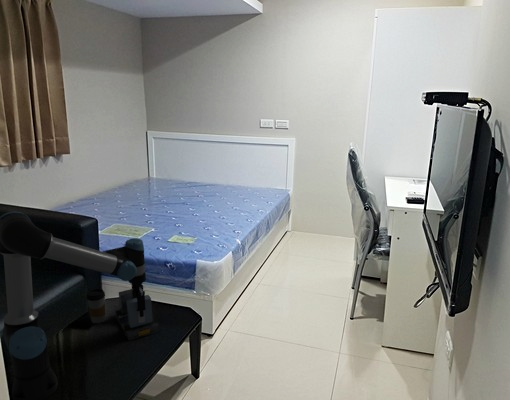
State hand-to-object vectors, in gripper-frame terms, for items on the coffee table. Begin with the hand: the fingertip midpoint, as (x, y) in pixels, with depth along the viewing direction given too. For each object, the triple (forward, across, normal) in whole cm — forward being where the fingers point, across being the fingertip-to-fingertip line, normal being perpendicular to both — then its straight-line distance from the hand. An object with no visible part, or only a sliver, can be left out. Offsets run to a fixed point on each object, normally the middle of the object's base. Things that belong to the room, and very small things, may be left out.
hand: (140, 319), depth 191 cm
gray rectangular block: (+2, 0, 0) cm, 2 cm away
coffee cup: (+6, +20, +15) cm, 25 cm away
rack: (+6, +8, 0) cm, 10 cm away
